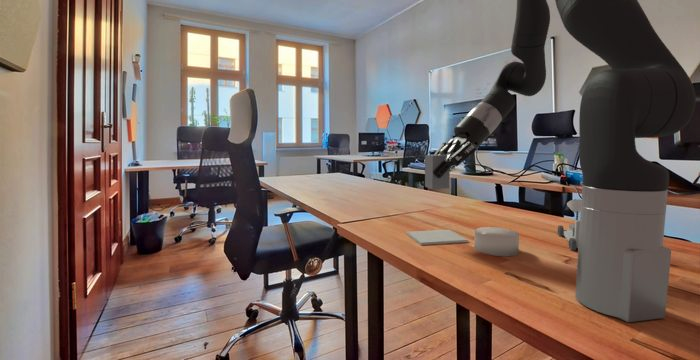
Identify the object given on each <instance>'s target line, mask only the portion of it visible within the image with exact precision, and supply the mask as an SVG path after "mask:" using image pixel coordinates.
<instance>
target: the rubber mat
mask: <svg viewBox="0 0 700 360" xmlns="http://www.w3.org/2000/svg"><path fill="white" fill-rule="evenodd" d="M405 234H406V236H408V237H410V238H411V239H412V240H413V241H415V242H416V243H417V244H418V245H420V246H429V245H443V244H444V245H445V244H458V243H459V244H460V243H469V239H467V238H466V237H464V236H462V235H460V234H458V233H456V232H455V231H452V230H450V229H449V228H448V229H434V230H432V229H431V230H417V231H415V230H414V231H412V230H411V231H406V233H405Z"/></svg>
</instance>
